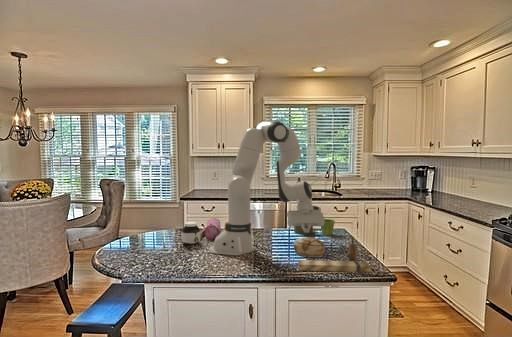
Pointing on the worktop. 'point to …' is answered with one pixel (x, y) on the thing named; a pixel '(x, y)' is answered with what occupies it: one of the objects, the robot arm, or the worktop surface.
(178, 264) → the worktop surface
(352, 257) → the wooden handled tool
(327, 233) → the plant pot
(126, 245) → the worktop surface
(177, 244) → the worktop surface
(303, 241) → the trinket box
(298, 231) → the can
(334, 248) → the worktop surface
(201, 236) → the pencil case cradle
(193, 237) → the spread jar
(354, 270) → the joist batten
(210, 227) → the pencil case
